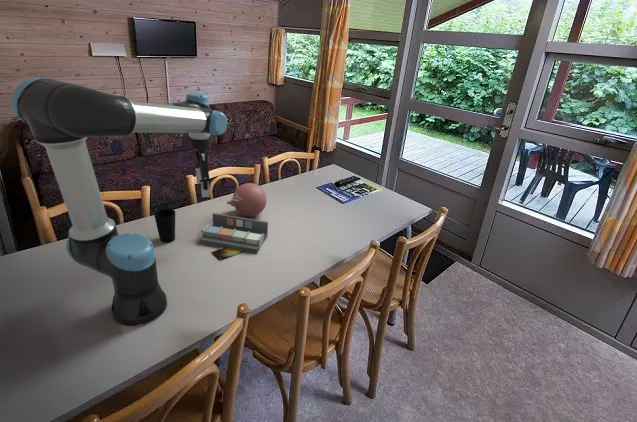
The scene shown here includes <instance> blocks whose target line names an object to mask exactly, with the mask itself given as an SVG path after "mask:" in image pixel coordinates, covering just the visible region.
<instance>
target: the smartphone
mask: <svg viewBox="0 0 637 422" xmlns="http://www.w3.org/2000/svg"><path fill="white" fill-rule="evenodd" d="M241 243H244V242H241ZM243 253H247V252H246V251H243V250H237V249H231V248H225V247H224V248H222V247H220V248H219V249H216V250H213V251H211V252H210V254H211V255H212V256H213V257H214V258H215V259H217V261H219V262H221V261H224V260H227V259H230V258H232V257H235V256H238V255H241V254H243Z"/></svg>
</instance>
